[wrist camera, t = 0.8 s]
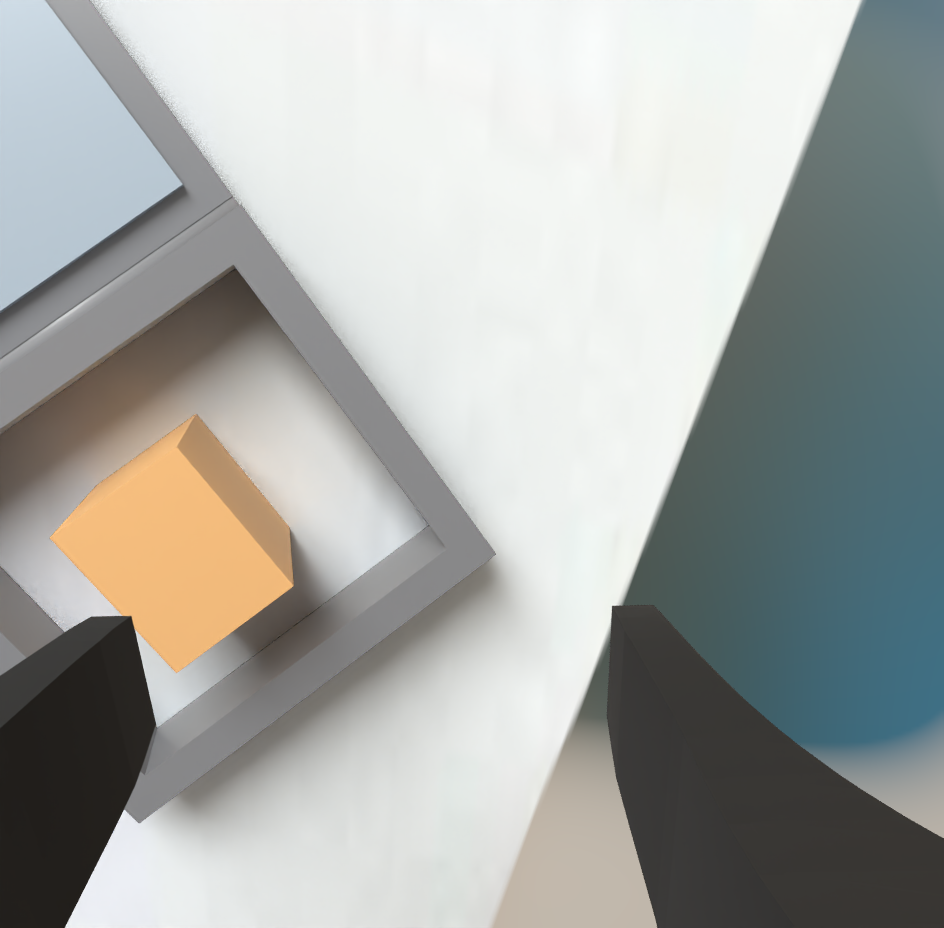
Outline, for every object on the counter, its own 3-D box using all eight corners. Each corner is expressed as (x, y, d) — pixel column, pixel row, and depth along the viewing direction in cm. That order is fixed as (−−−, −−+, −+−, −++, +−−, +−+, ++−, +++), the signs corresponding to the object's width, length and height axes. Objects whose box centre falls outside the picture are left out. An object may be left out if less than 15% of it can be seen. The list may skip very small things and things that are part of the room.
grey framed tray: (152, 771, 30) (138, 823, 27) (-574, 45, 21) (-706, 7, 18) (475, 529, 31) (496, 554, 28) (-99, -256, 22) (-154, -336, 19)
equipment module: (195, 596, 29) (176, 673, 23) (95, 485, 27) (49, 538, 22) (289, 527, 29) (294, 586, 23) (196, 413, 28) (176, 446, 22)
